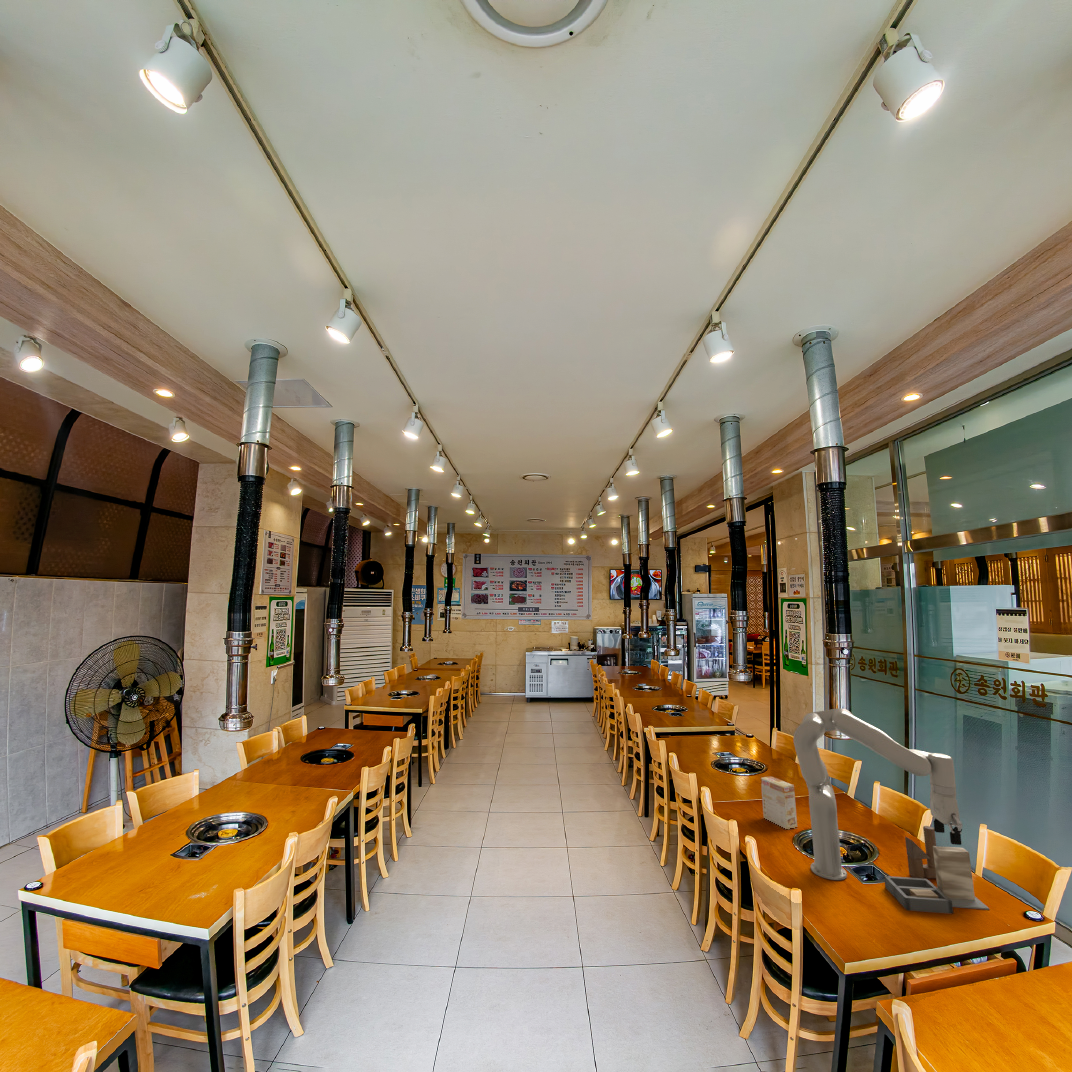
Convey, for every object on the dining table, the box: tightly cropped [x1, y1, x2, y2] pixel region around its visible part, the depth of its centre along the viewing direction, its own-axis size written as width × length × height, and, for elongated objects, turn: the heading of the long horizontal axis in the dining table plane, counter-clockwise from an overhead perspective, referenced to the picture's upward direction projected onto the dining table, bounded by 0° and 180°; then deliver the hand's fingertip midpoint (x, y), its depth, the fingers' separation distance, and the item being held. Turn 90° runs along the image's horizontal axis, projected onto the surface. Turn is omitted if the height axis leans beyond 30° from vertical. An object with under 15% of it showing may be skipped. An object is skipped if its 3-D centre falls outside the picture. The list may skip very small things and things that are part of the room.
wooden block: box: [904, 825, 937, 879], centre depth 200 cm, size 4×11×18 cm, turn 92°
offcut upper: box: [910, 889, 938, 898], centre depth 180 cm, size 4×7×2 cm, turn 84°
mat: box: [949, 896, 990, 911], centre depth 184 cm, size 12×13×1 cm
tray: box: [883, 875, 954, 915], centre depth 183 cm, size 15×15×4 cm
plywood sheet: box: [933, 845, 976, 900], centre depth 185 cm, size 4×10×16 cm, turn 80°
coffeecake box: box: [760, 776, 798, 830], centre depth 251 cm, size 15×7×20 cm, turn 19°
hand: (947, 838), depth 187 cm, fingers open, 9 cm apart
